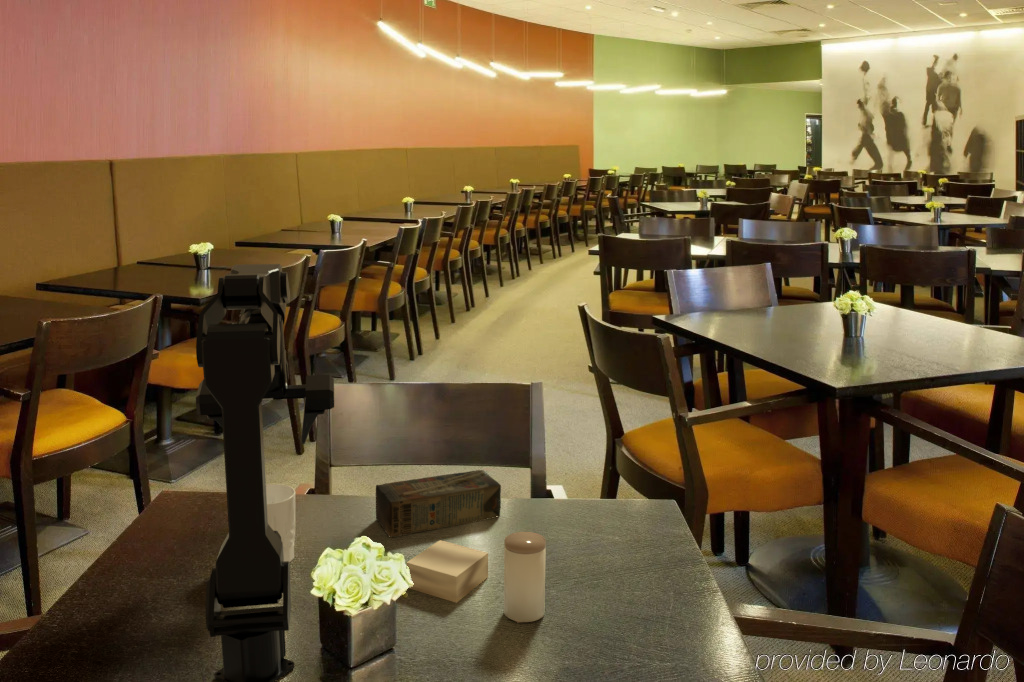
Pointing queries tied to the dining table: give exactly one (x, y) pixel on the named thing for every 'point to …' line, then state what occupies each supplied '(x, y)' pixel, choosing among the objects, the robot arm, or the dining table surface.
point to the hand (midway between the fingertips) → (271, 444)
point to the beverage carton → (437, 502)
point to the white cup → (282, 515)
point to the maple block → (448, 570)
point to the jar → (524, 576)
